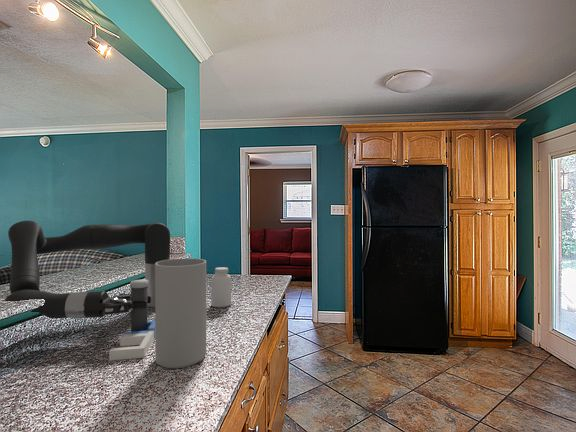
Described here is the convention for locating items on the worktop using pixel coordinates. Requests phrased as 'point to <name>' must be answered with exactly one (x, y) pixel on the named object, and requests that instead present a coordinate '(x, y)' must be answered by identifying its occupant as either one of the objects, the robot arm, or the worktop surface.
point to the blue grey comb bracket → (134, 343)
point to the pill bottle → (221, 288)
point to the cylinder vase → (180, 312)
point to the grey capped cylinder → (139, 315)
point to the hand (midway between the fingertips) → (148, 301)
